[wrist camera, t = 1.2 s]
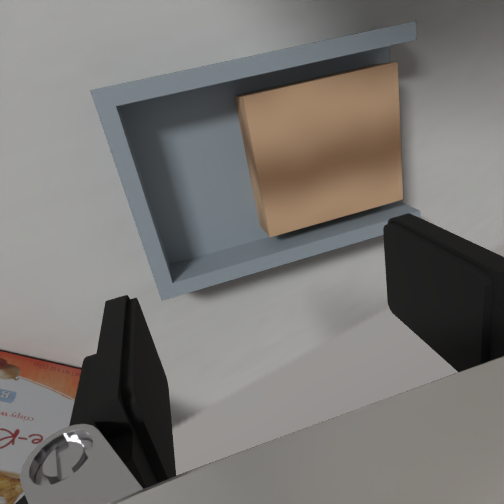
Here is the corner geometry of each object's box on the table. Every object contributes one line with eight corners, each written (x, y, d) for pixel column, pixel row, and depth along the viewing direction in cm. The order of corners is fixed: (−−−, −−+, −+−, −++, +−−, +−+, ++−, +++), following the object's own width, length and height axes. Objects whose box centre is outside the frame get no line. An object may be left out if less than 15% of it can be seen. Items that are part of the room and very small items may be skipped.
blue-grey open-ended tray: (96, 90, 24) (90, 90, 21) (384, 28, 27) (416, 20, 24) (159, 277, 29) (161, 300, 26) (393, 210, 32) (420, 223, 29)
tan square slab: (234, 96, 26) (243, 97, 23) (376, 63, 27) (397, 61, 25) (260, 225, 29) (269, 237, 27) (383, 191, 31) (403, 199, 29)
